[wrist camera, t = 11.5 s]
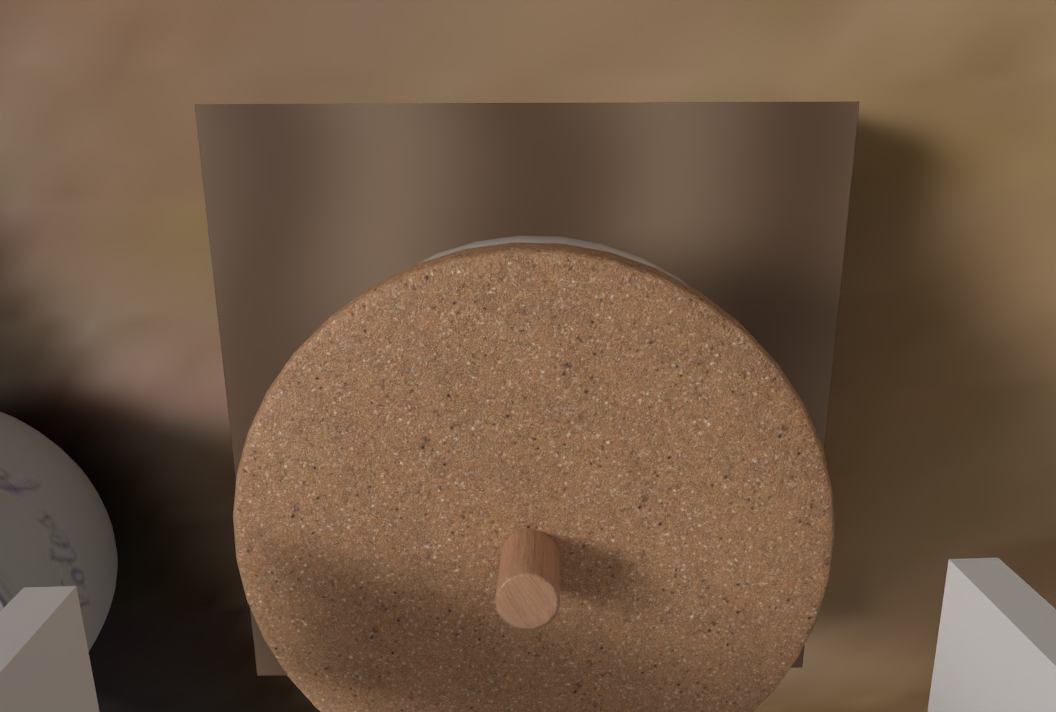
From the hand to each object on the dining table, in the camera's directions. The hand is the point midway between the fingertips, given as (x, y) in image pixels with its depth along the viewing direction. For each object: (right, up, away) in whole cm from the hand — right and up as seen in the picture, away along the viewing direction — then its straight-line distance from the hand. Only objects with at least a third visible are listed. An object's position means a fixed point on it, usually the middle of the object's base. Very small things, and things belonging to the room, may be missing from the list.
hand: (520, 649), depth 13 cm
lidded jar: (0, +3, +10) cm, 10 cm away
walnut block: (0, +4, +15) cm, 15 cm away
